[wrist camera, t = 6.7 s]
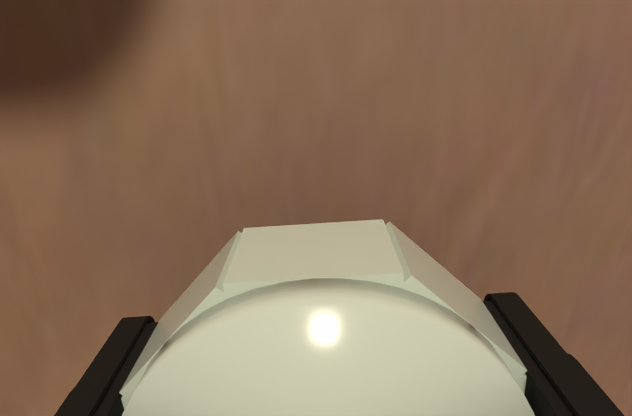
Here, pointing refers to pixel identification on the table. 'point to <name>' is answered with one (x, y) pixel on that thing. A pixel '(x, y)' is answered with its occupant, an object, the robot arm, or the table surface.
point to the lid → (326, 333)
